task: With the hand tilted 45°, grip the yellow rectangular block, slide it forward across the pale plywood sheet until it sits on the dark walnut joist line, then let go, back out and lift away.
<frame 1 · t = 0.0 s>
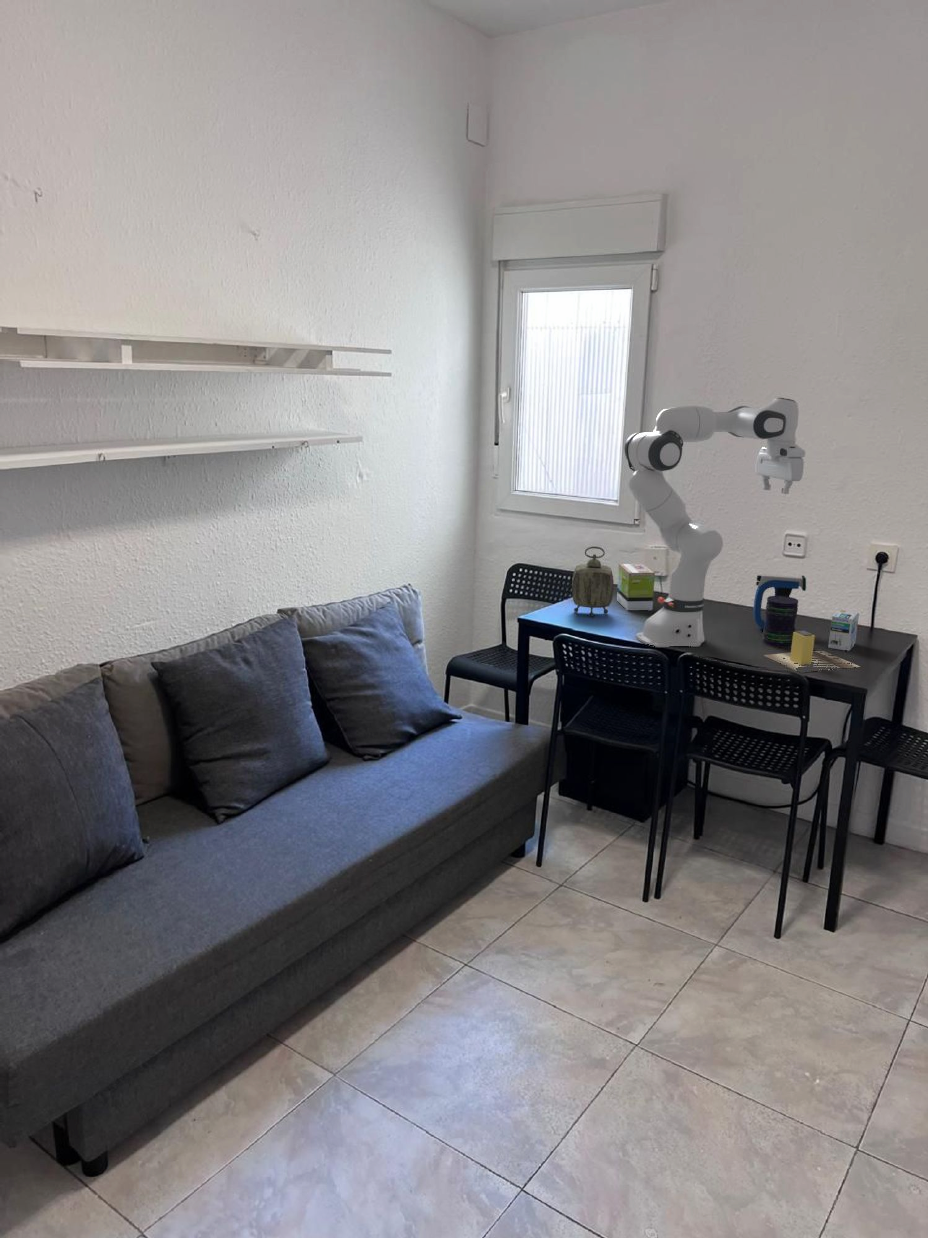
hand: (775, 491, 309), 48 cm above the table, tool pointing down, fingers open, 8 cm apart
light bulb box: (841, 646, 308), on the table
tabletop clock: (591, 615, 338), on the table
yellow rectangular block: (800, 661, 290), resting on plywood sheet
plywood sheet: (811, 661, 291), on the table
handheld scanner: (775, 631, 324), on the table
storage jar: (777, 644, 309), on the table
tea box: (634, 606, 353), on the table
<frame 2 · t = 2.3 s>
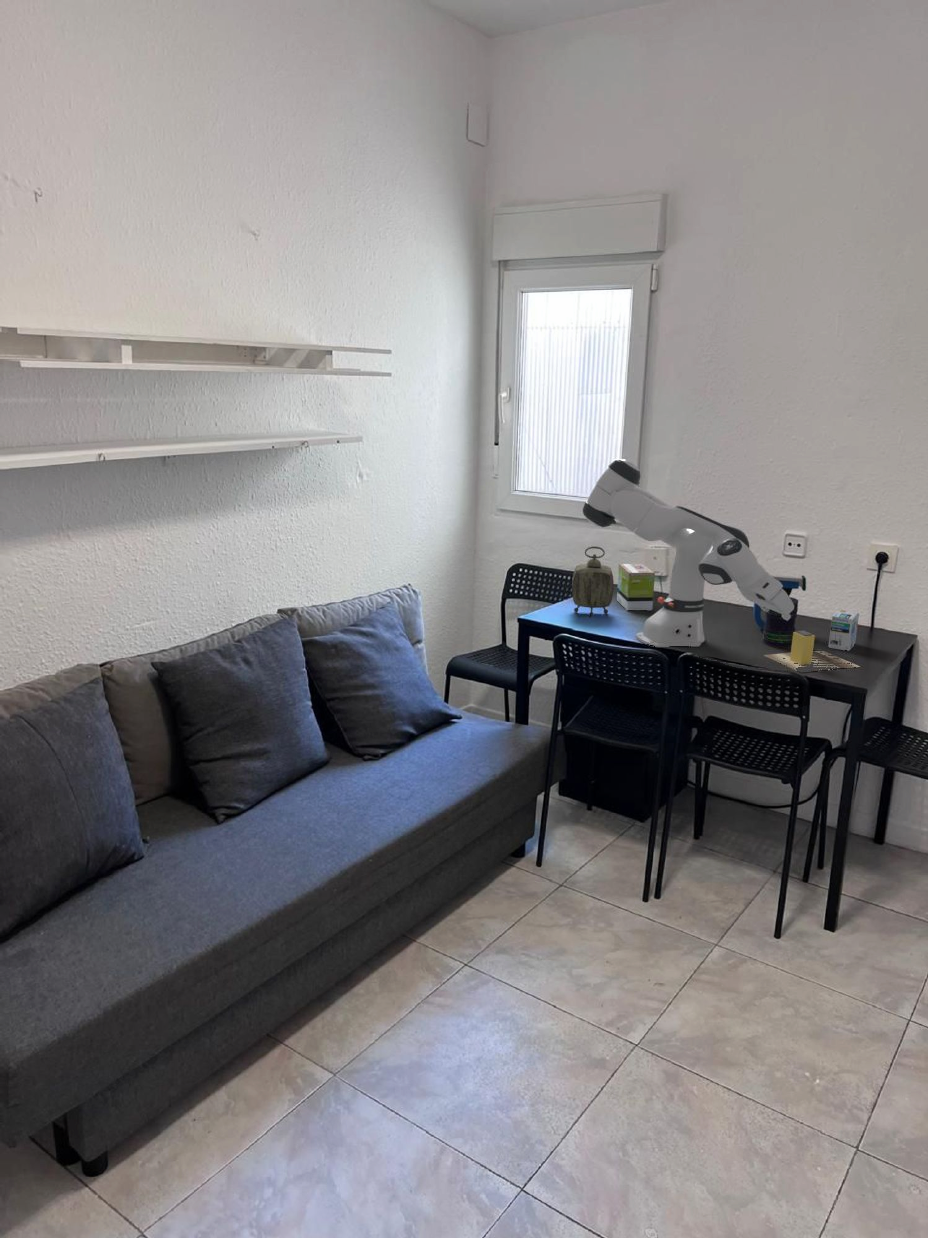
hand: (777, 614, 281), 16 cm above the table, tool tilted 45°, fingers open, 8 cm apart
nothing on the table moved.
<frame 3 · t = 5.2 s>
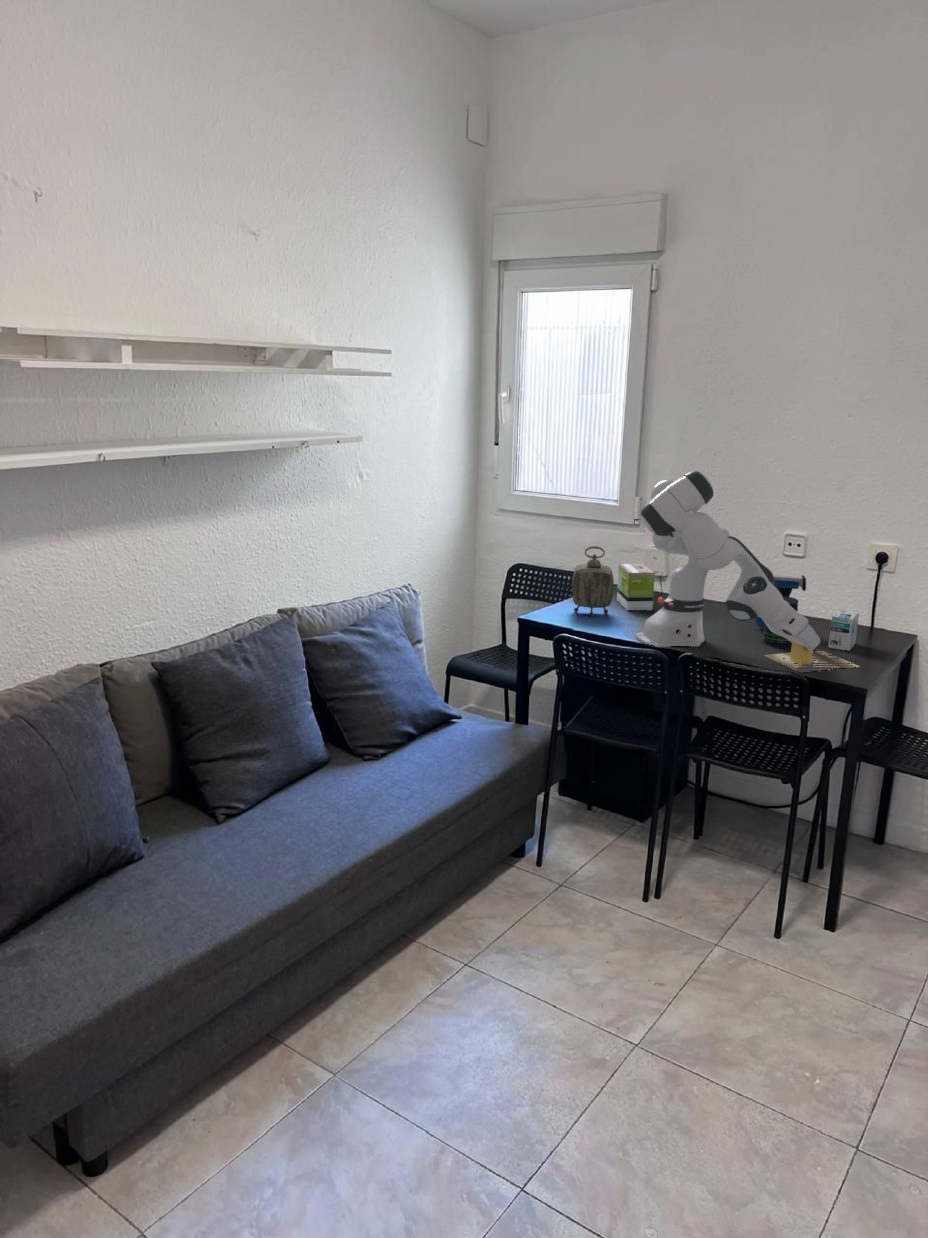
hand: (804, 646, 288), 5 cm above the table, tool tilted 45°, fingers closed on yellow rectangular block, 5 cm apart
yellow rectangular block: (800, 661, 290), resting on plywood sheet, touching gripper
everything else where it was.
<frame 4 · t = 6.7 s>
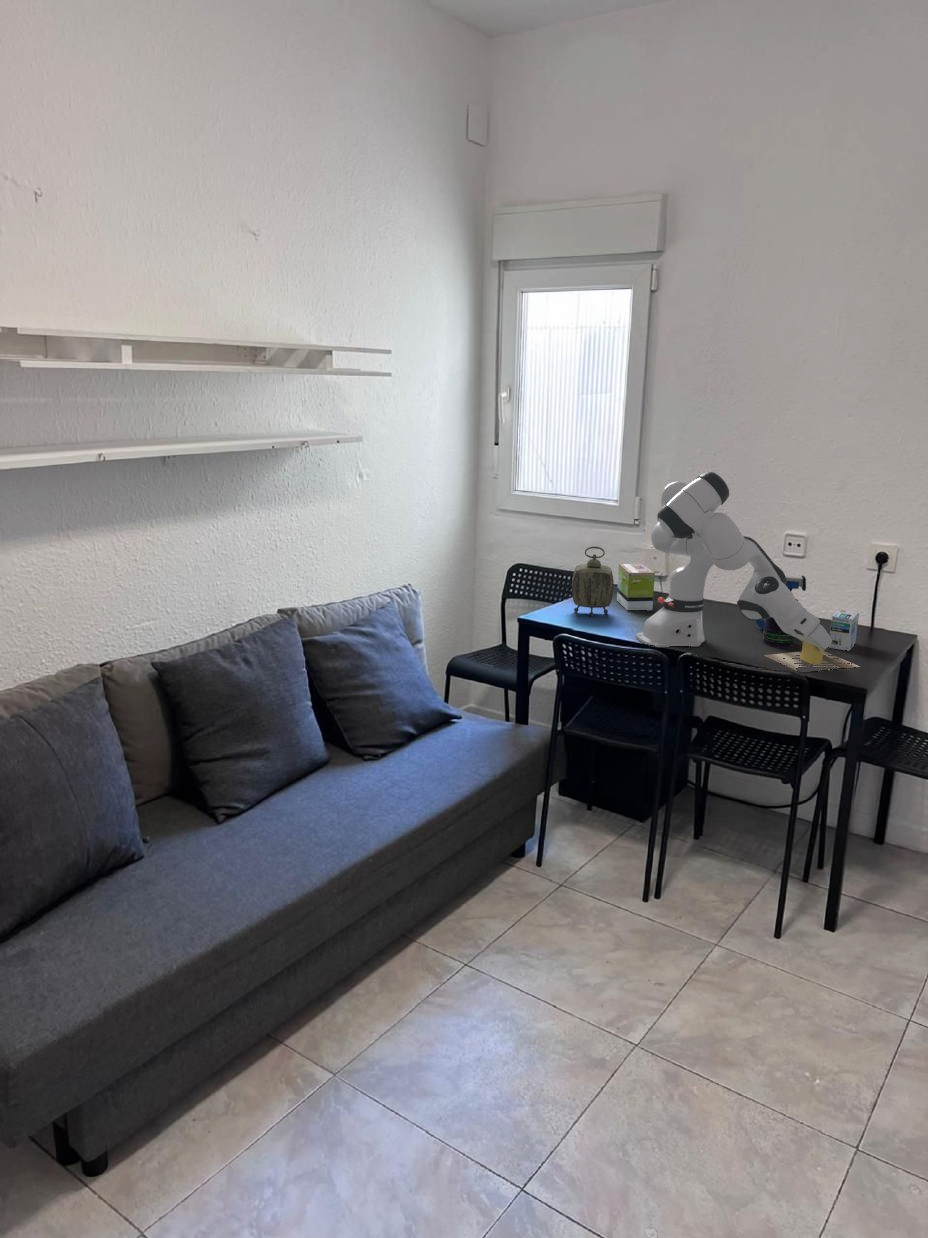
hand: (815, 646, 289), 5 cm above the table, tool tilted 45°, fingers closed on yellow rectangular block, 5 cm apart
yellow rectangular block: (810, 661, 290), resting on plywood sheet, touching gripper
everything else where it was.
when the fingers open (5 cm above the table, at t = 8.4 s): yellow rectangular block stays where it is, resting on plywood sheet.
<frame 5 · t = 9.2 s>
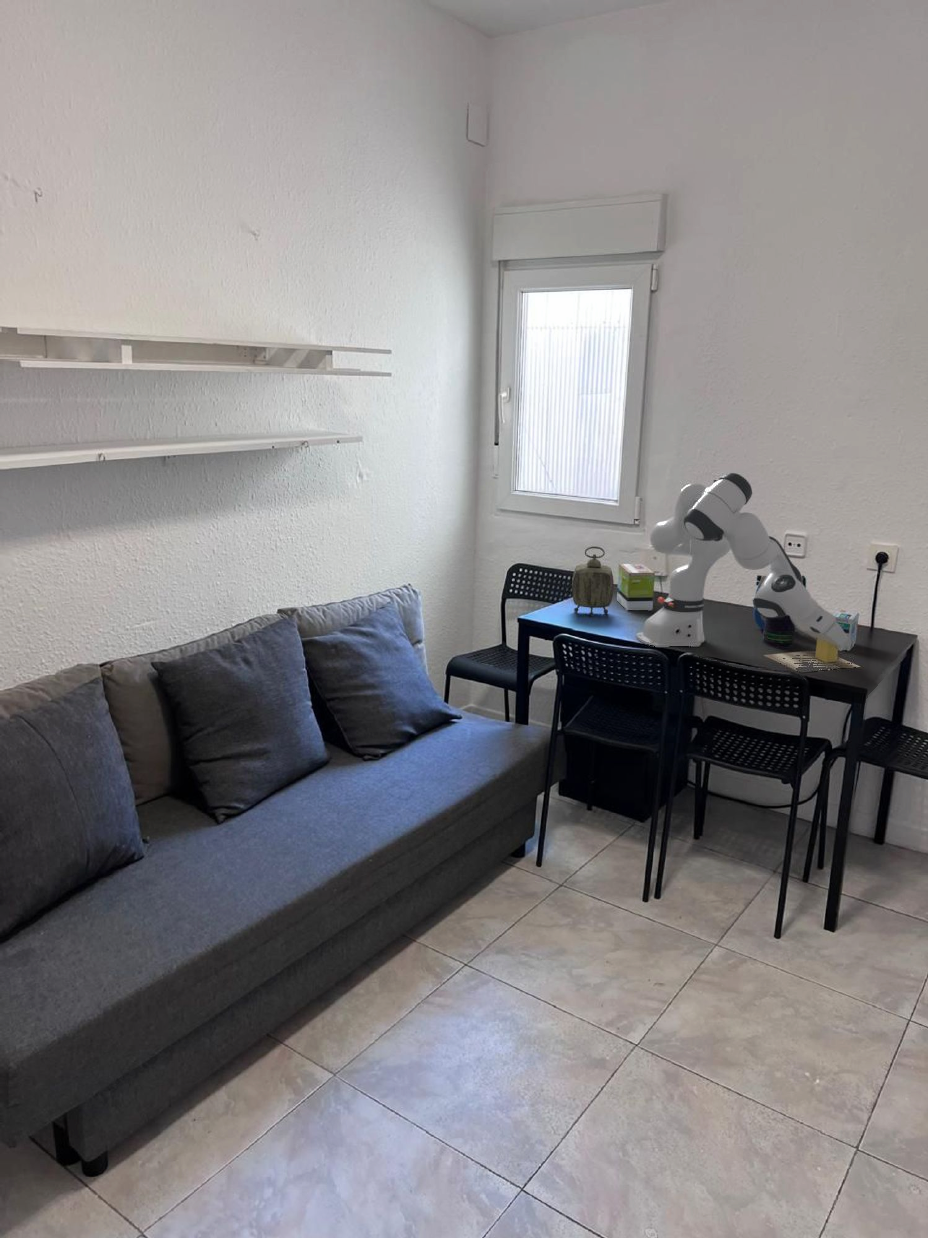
hand: (830, 644, 292), 5 cm above the table, tool tilted 45°, fingers open, 8 cm apart
yellow rectangular block: (825, 659, 293), resting on plywood sheet
everything else where it was.
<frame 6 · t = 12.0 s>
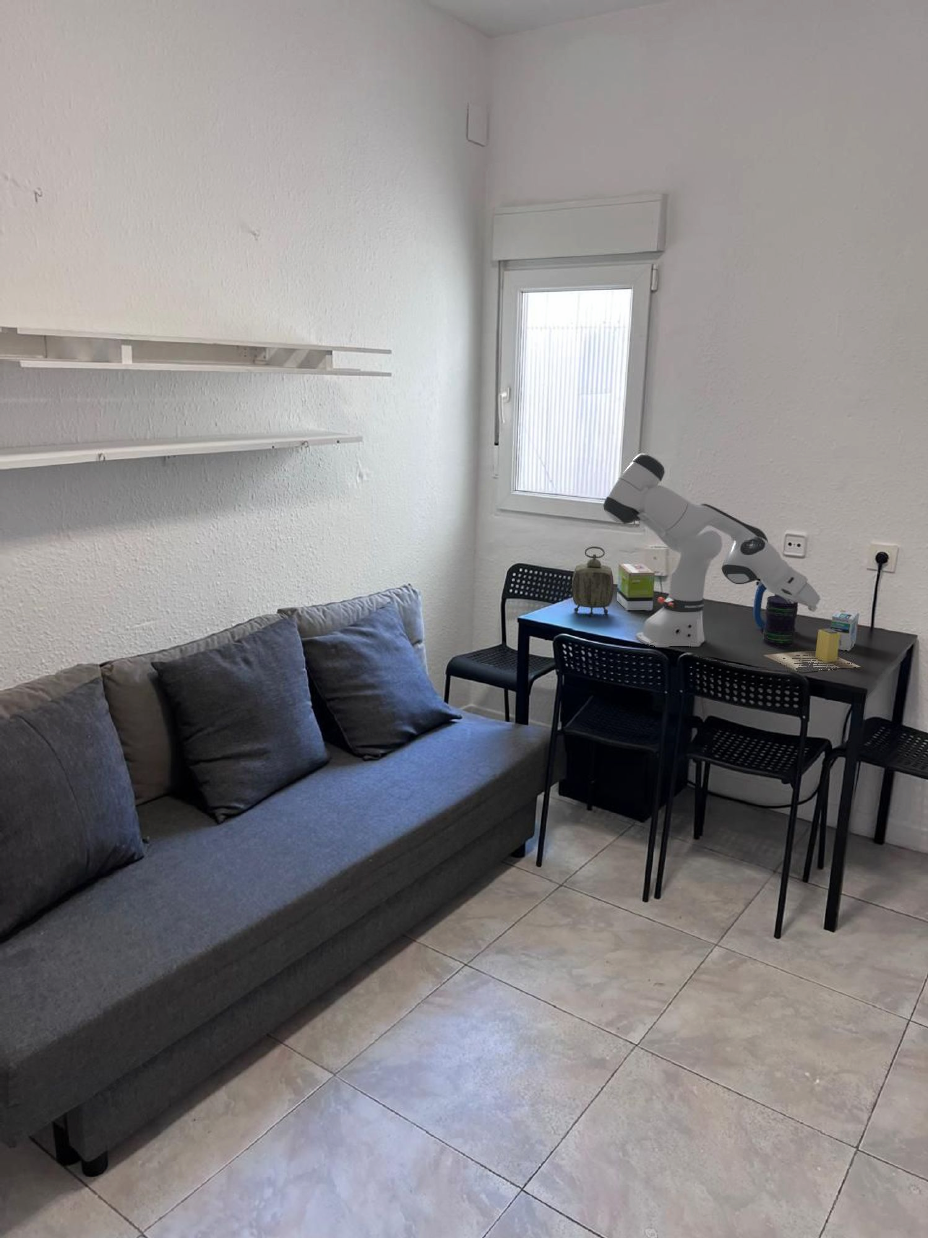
hand: (803, 605, 286), 18 cm above the table, tool tilted 50°, fingers open, 8 cm apart
nothing on the table moved.
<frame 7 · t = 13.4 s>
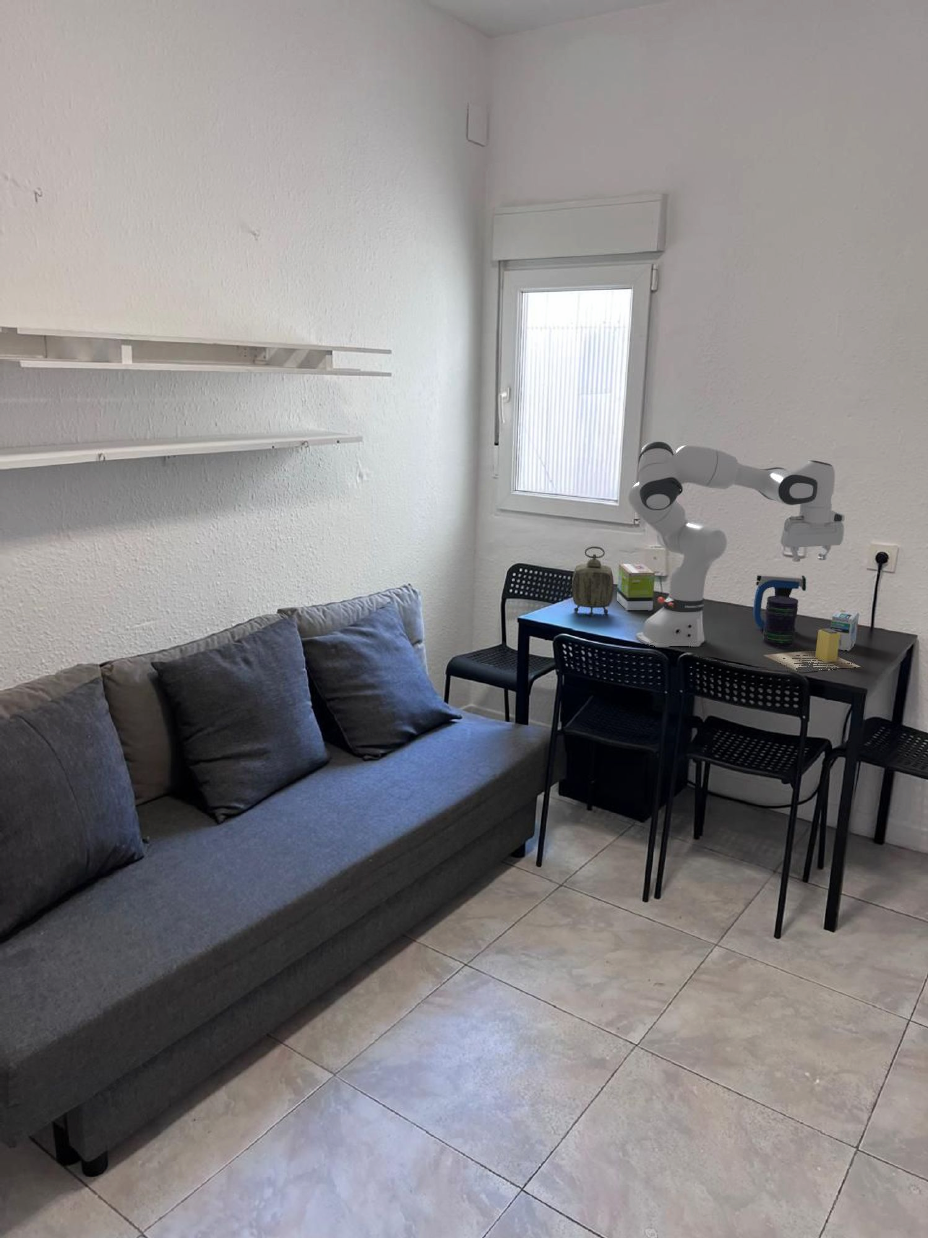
hand: (809, 560, 285), 31 cm above the table, tool pointing down, fingers open, 8 cm apart
nothing on the table moved.
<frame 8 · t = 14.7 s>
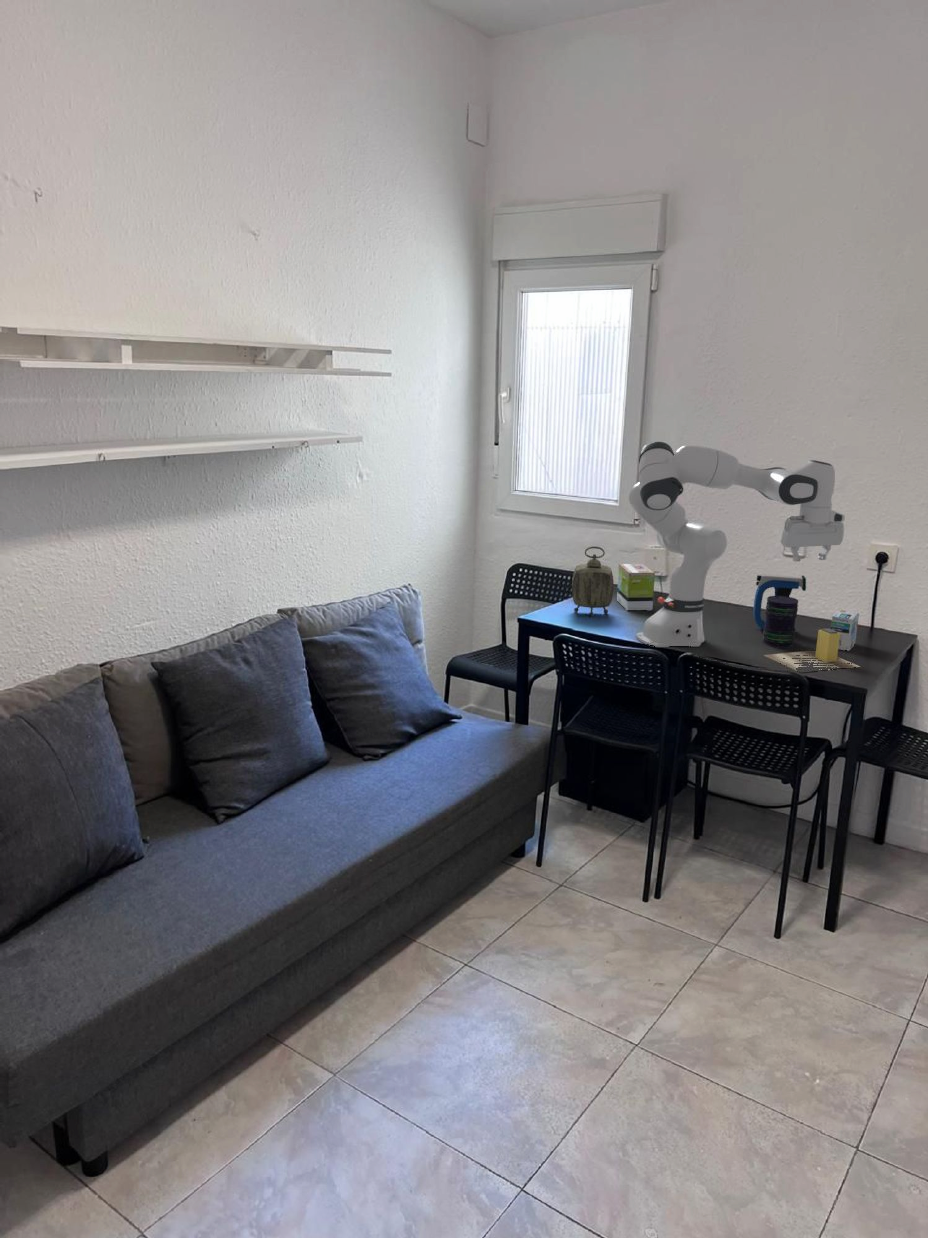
hand: (809, 560, 286), 31 cm above the table, tool pointing down, fingers open, 8 cm apart
nothing on the table moved.
at the end: yellow rectangular block 0.7 cm from the target spot, resting on plywood sheet; yellow rectangular block tilted 0°; the gripper is holding nothing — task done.
